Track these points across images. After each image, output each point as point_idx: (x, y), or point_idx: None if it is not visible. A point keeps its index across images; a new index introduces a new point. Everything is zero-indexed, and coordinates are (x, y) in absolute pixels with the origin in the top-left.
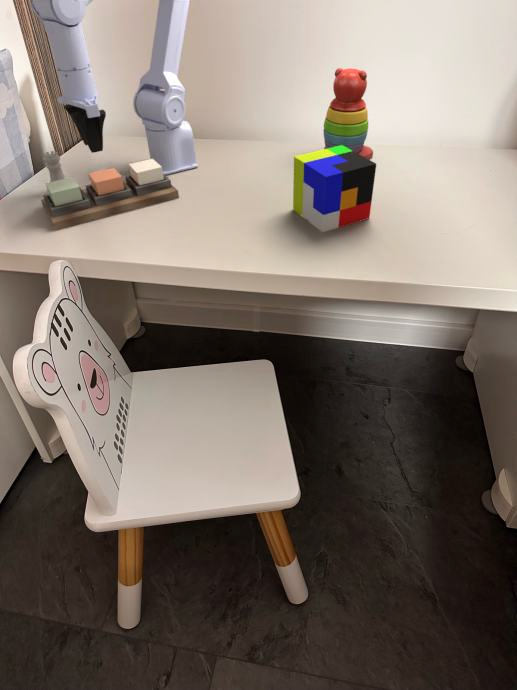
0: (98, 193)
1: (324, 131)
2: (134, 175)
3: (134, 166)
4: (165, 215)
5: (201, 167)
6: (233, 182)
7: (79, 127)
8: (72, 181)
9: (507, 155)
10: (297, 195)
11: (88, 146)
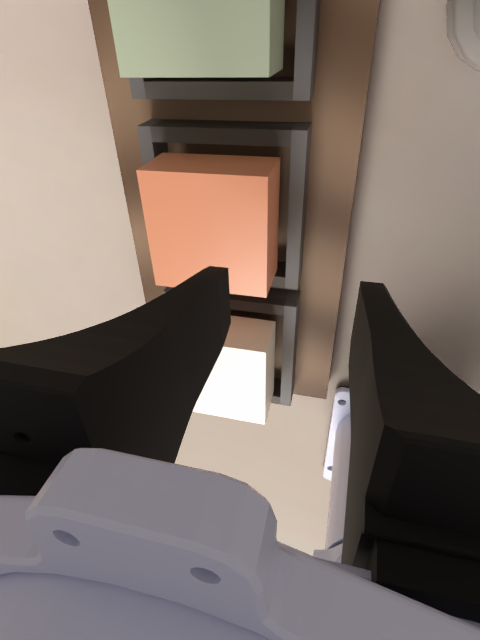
0: (157, 156)
1: None
2: None
3: (230, 357)
4: (80, 287)
5: (320, 475)
6: (192, 465)
7: (366, 350)
8: (205, 60)
9: None
10: None
11: (208, 276)
